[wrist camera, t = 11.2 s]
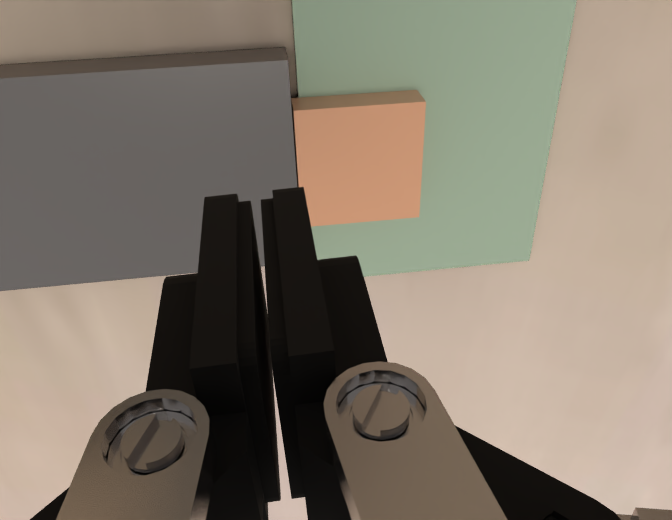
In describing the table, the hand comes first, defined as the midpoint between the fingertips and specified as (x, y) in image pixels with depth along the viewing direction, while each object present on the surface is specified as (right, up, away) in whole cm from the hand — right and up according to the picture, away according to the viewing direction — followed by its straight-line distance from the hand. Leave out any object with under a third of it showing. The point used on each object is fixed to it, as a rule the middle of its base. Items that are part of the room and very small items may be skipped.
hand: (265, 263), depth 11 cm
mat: (+7, +7, +25) cm, 27 cm away
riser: (-11, +5, +23) cm, 26 cm away
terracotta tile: (+2, +6, +24) cm, 25 cm away
